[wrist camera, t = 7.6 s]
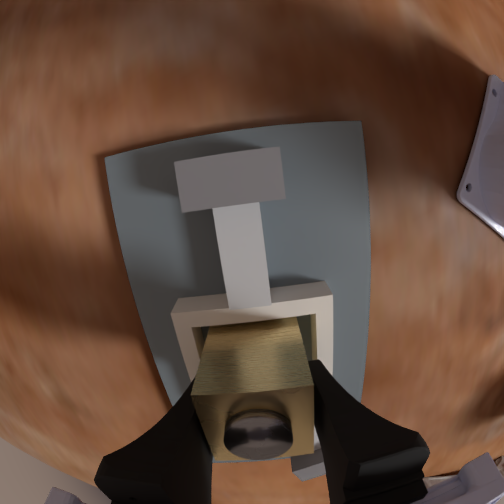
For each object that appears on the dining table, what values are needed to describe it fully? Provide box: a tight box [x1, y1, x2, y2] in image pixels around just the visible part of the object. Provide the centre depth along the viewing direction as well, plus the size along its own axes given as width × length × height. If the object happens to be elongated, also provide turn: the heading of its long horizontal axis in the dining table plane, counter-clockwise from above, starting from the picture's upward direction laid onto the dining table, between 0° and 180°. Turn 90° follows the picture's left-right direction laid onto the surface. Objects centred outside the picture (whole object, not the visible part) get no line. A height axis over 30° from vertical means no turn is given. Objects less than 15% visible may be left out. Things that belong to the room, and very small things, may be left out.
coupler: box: [191, 316, 314, 461], centre depth 12 cm, size 4×4×7 cm
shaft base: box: [105, 121, 371, 481], centre depth 14 cm, size 22×12×4 cm, turn 7°
